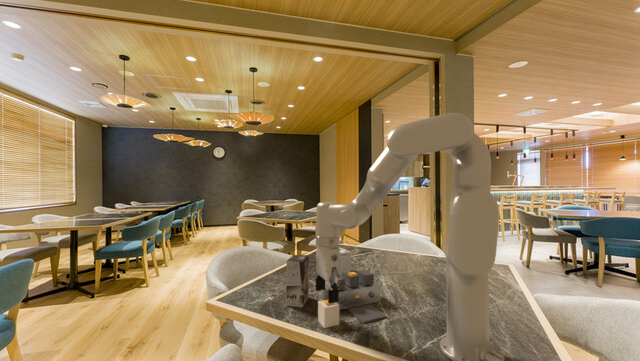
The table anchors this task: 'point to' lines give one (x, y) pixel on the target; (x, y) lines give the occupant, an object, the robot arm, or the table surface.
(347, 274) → the toggle mid
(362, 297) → the breaker console
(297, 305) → the coffee box
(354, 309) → the pad
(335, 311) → the cap
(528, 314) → the table surface
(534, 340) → the table surface
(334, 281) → the toggle left
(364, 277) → the toggle right
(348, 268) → the light bulb box
